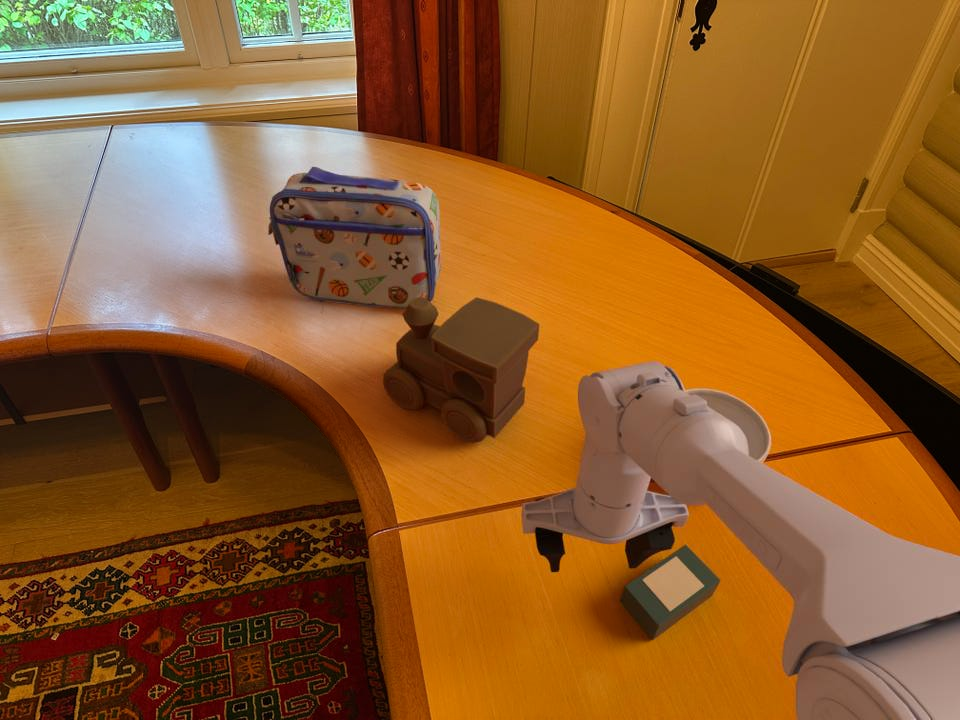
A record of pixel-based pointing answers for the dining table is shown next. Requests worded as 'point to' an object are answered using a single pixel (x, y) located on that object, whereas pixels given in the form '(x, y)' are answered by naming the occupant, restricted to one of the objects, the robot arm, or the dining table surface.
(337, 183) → the lunch box
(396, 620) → the dining table surface
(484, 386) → the wooden toy train
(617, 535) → the robot arm
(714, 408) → the ramekin
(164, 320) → the dining table surface
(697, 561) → the carton
